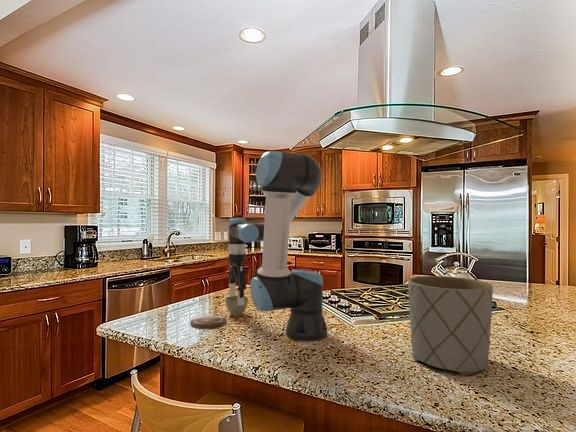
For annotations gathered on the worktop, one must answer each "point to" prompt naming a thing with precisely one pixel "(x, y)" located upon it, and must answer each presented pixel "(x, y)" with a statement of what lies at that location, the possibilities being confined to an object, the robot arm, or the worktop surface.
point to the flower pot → (236, 305)
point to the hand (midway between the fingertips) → (236, 301)
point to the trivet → (208, 321)
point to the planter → (450, 322)
